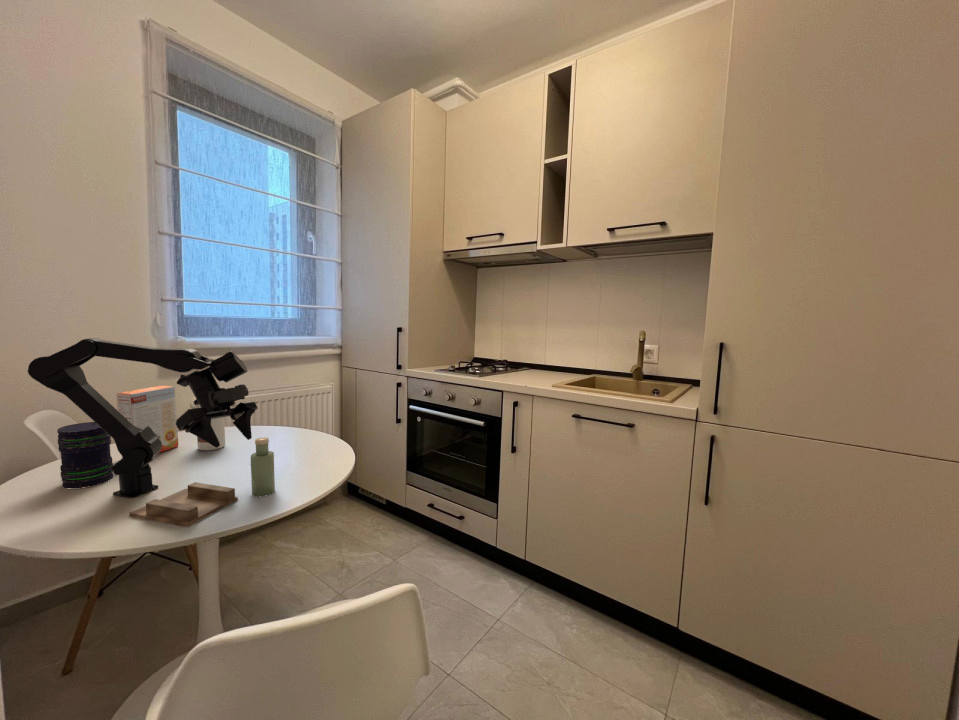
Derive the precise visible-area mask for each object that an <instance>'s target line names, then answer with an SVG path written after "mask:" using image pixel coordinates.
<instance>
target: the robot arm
mask: <svg viewBox="0 0 959 720" xmlns="http://www.w3.org/2000/svg"><path fill="white" fill-rule="evenodd" d="M95 357H98V358H99V357H100V358H107V359H115V360H124V361H131V362H140V363H144V364H152V365H156V366H158V367H161V368H164V369H166V370H170V371H173V372H178V373H188V372H191V371H193V370H195V371H193V372H191V373H188V374H180V377H179V378H178V380H177V381H176V384H177V385H179V386H181V387H184V388H185V387H187V386H188V387H189V388H190V390H191V392H192V393H193V396H194V398H195V399H194V401H193V405H194V406H198V405H199V406H200V407H201V408H199V407H195V408H188V409H187V410H186V411H184V413H182V414H180V416H178V418H177V421H176V426H177V430H178V432H179V431H180V432H181V431H185V433H187V434H189V433H190V434H192V435H194V436H196V437H199V438H201V439H203V440H205V441H206V442H208V443H209V444H211V445H213V446H214V447H216V448H217V447H219V446H220V443H219V440H218V438H217V436H216V434H215V432H214V430H213V428H212V426H211V419H215V418H221V417H224V418H226V417H230V418H231V420H233V421H232V424H233V425H234V426H235V427H236V429H237V430H238V431H239V432H240V433H241V434H242V435H243V437H244V438H246V440H251V439H252V437H253V435H252V426H251V424H252V423H251V418H252V415H254V414H255V412H256V411H257V410H258V409H259V408H258V405H257V403H256V402H255V401H252V400H248V401H241V402H239V403H238V404H236V402H237V401H239V400H246V397H247V396H249V394H250V393H249V389H248V387H247V386H246V385H245V384H238V385H235V386H234V387H227V388H225V387H220V385H219V383H218V382H224V383H228V382H230V381H231V382H232V380H235V379H236V378H238V377H241V376H242V375H245V374H247V373H248V369H247V366H246V365H245V363H244V361H243V360H242V359H240V358H239V356H237V355H236V354H235V352H234V351H233V350H231V351H228V352H226V353H225V354H224V355H222V356H219V357H218V358H216V359H213V358H209V357H207V356H204V355H202V354H201V353H200V352H199V351H198V350H197V349H195V348H192V347H169V348H168V347H165V348H162V347H152V346H146V345H139V344H131V343H125V342H120V341H119V342H118V341H111V340H105V339H101V338H98V337H96V338H95V337H92V338H84V339H81V340H79V341H78V342H76V343H75V344H72V345H71V346H69V347H66V348H64V349H61V350H59V351H57V352H55V353H53V354H51V355H46V356H40V357H37V358H34V359H33V360H32V361H30V362H29V364H28V368H27V374H28V375H29V377H30V378H32V379H33V380H34V381H36V382H38V383H40V384H41V385H42V386H44V387H46V388H48V389H50V390H53V391H54V392H55V391H56V392H57V393H60V394H63V395H64V396H65V397H66V398H68V400H70V401H71V402H72V403H73V404H74V405H75V406H77V408H79V409H80V410H81V411H82V412H83V413H84V414H85V415H86V416H87V417H89V418H90V419H91V420H92V422H95V423H97V424H98V425H99V426H100V427H101V428H102V429H103V430H104V431H105V432H107V433H108V434H109V435H110V436H111V437H110V438H111V439H113V440H114V443H115V446H116V450H117V451H118V453H119V454H120V455H121V459H119V460H118V462H116V463H115V464H113V467H112V470H113V472H112V473H113V474H115V476H118V482H119V490H117V491H114V492H112V495H113V496H118V497H124V498H129V499H134V498H136V497H138V496H140V495H144V494H145V493H146V494H147V493H149V492H151V491H154V490H156V489H159V485H157V484H153V473H152V466H150V463H151V462H153V460H154V458H155V457H156V456H157V455H158V454H159V452H160V450H161V448H162V442H161V441H160V439H159V438H160V437H161V436H159V435H157V434H155V433H154V432H153V431H152V429H151V428H150V427H149V426H147V427H145V428H144V429H140V428H138V427H135V426H134V425H132V424H131V423H130V422H129V421H128V420H127V419H126V418H125V417H124V416H123V415H122V414H121V413H120V412H118V409H117V408H116V407H115V406H113V405H112V404H111V403H110V401H108V400H107V399H106V398H104V396H103V395H101V393H99V391H97V390H96V388H94V387H93V386H92V385H91V384H90V383H89V382H88V381H87V378H86V375H85V372H84V370H83V369H82V367H81V366H82V365H84V364H86V363H88V362H89V361H91V360H92V359H93V358H95ZM234 405H236V406H235V407H234ZM232 406H233V408H232ZM160 453H161V452H160ZM122 457H123V458H122Z"/></svg>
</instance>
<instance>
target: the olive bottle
mask: <svg viewBox="0 0 959 720" xmlns="http://www.w3.org/2000/svg"><path fill="white" fill-rule="evenodd" d="M269 443H270V439H269V437H265V436H264V437H258V438H256V439H254V444H255V452H254V453H252V454H251V455H250V475H251V476H250V477H251V481H250V482H251V496H253V497H256V496H257V498H258V497H259V496H262V497H266V496H265V495H267V496H270V495H272V494H273V493H274V492H275V491H276V489H275V488H276V482H275V480H276V479H275V478H276V477H275V476H276V475H275V452H274V451H271V450H269ZM269 494H270V495H269ZM259 498H260V497H259Z"/></svg>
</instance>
